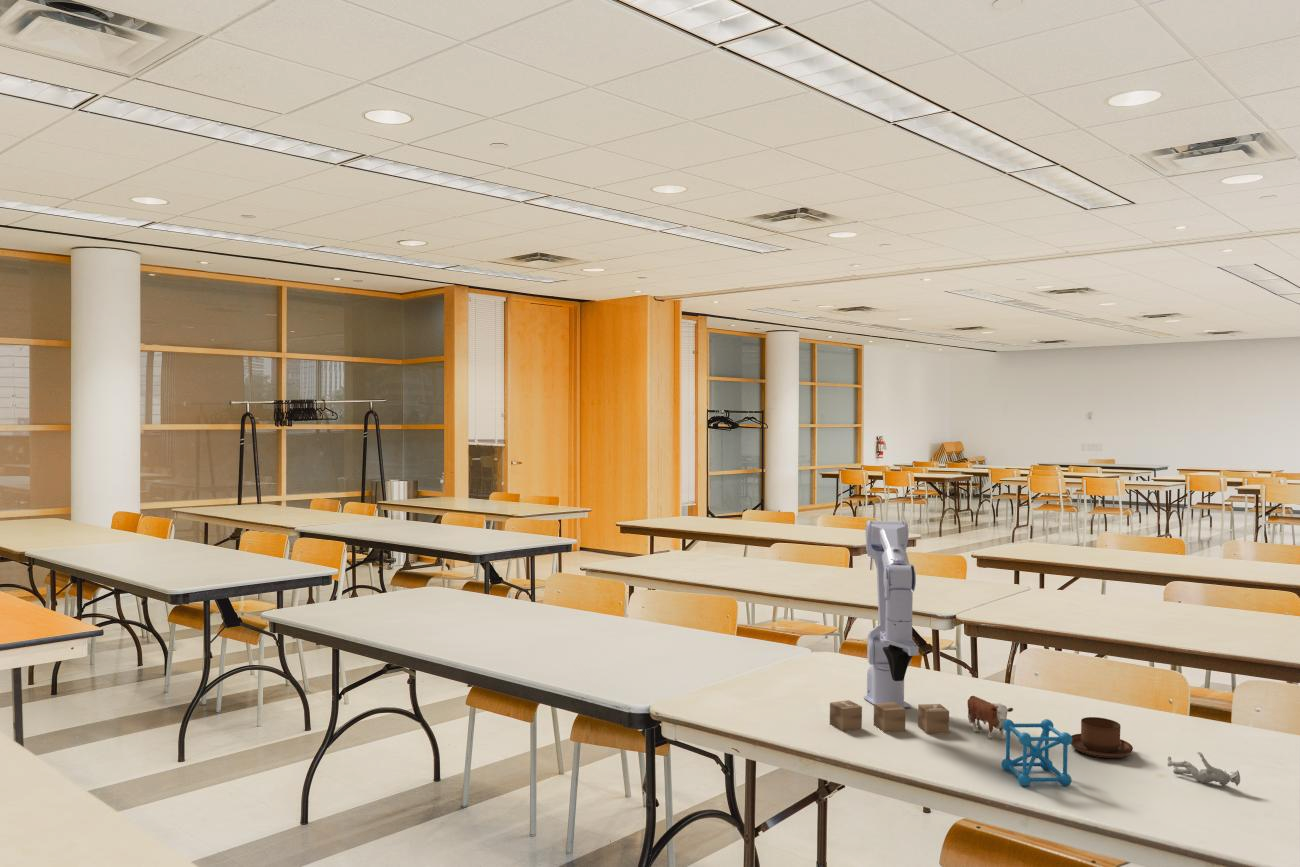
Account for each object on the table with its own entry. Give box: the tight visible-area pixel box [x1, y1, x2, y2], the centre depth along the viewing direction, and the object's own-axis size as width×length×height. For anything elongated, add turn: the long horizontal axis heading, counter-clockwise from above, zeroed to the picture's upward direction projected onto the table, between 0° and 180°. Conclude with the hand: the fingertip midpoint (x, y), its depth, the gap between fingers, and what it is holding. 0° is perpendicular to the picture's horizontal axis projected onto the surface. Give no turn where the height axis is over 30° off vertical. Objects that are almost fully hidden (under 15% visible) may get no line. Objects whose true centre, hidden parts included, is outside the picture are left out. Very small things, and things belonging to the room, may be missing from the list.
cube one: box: [829, 699, 863, 732], centre depth 210 cm, size 5×5×5 cm
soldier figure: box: [1167, 751, 1241, 787], centre depth 180 cm, size 8×5×12 cm
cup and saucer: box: [1070, 716, 1134, 759], centre depth 196 cm, size 12×12×6 cm
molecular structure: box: [1000, 718, 1073, 787], centre depth 181 cm, size 10×10×10 cm
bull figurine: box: [967, 695, 1014, 741], centre depth 205 cm, size 4×13×8 cm, turn 16°
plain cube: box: [873, 702, 907, 734], centre depth 209 cm, size 5×5×5 cm
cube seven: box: [917, 703, 950, 735], centre depth 208 cm, size 5×5×5 cm
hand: (897, 680), depth 210 cm, fingers closed
